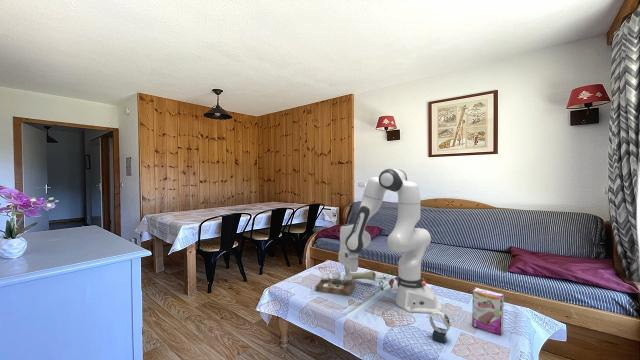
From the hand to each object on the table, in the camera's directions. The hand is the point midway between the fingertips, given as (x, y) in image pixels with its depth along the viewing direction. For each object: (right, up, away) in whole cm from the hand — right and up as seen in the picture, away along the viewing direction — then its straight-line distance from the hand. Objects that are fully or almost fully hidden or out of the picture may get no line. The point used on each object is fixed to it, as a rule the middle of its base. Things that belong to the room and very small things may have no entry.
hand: (347, 274), depth 166 cm
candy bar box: (+57, -10, -43) cm, 72 cm away
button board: (-7, -9, +1) cm, 11 cm away
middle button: (-6, -3, +2) cm, 7 cm away
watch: (+33, -10, -50) cm, 61 cm away
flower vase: (+15, -9, +4) cm, 17 cm away
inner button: (0, -3, 0) cm, 3 cm away
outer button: (-13, -4, +5) cm, 14 cm away
